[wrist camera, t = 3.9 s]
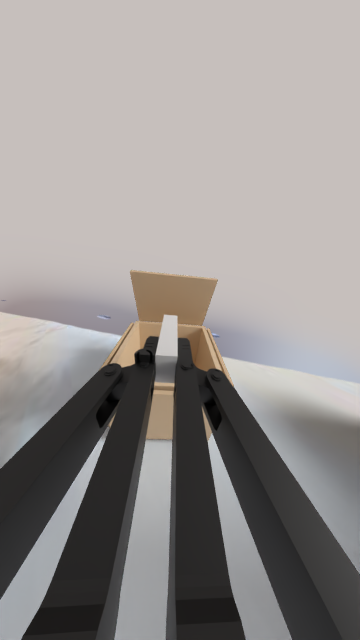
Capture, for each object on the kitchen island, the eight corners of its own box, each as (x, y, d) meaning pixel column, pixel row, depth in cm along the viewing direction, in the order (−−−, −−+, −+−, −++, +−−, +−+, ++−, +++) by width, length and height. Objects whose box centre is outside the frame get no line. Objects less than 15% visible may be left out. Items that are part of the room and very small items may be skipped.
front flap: (201, 323, 31) (217, 278, 23) (202, 325, 31) (217, 280, 22) (139, 319, 30) (130, 269, 22) (139, 320, 30) (129, 271, 21)
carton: (199, 366, 36) (208, 326, 31) (215, 445, 21) (239, 396, 16) (135, 362, 35) (132, 320, 30) (103, 443, 20) (84, 389, 14)
